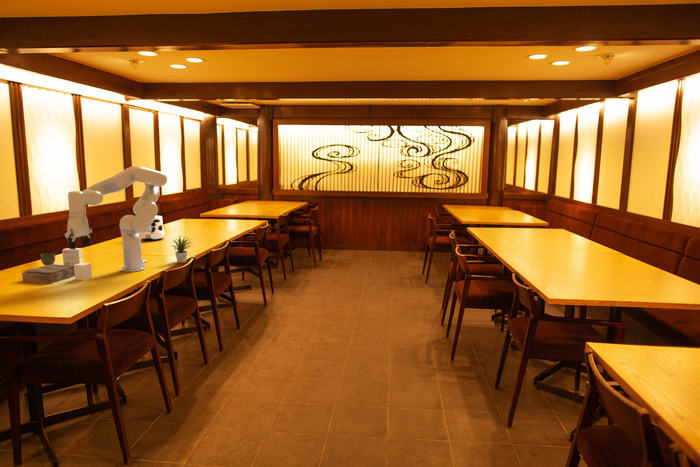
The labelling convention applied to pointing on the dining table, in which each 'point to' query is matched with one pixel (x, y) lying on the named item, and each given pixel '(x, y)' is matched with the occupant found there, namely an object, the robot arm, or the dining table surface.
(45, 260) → the cup
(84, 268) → the block
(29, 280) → the pedestal
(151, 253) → the dining table surface
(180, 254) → the house plant
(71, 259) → the ink box
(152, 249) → the dining table surface
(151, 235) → the milk container
